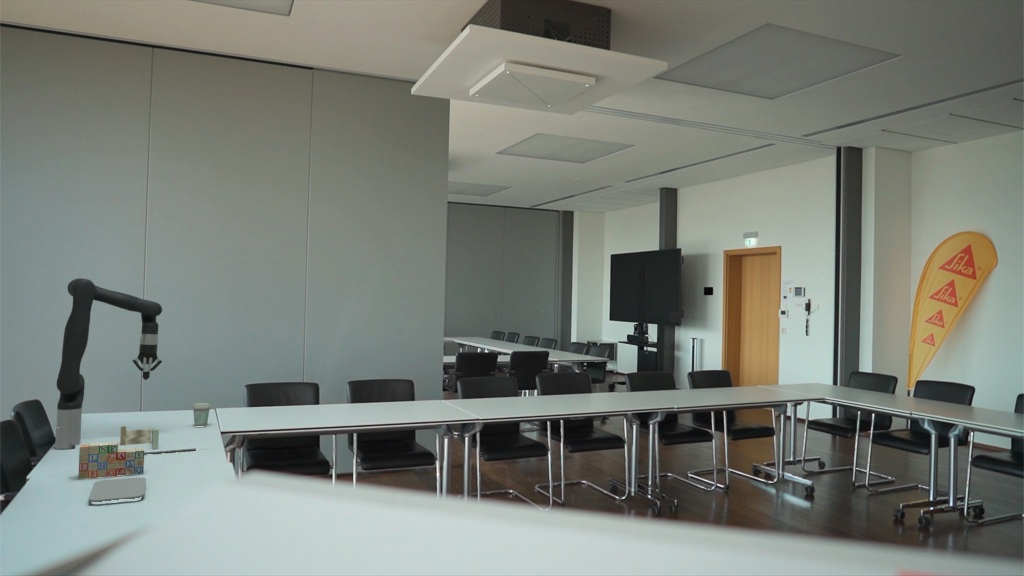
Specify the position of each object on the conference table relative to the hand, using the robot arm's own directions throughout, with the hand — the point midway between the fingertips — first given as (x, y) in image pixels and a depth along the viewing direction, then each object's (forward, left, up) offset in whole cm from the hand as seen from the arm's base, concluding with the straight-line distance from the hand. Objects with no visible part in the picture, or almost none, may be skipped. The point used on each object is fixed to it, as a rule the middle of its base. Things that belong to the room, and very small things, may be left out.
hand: (145, 379), depth 325 cm
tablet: (-13, -96, -29) cm, 101 cm away
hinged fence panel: (+3, -26, -27) cm, 37 cm away
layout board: (+4, -24, -28) cm, 37 cm away
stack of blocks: (-15, -68, -29) cm, 75 cm away
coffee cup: (+28, +22, -28) cm, 45 cm away
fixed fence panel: (-4, -18, -27) cm, 33 cm away
